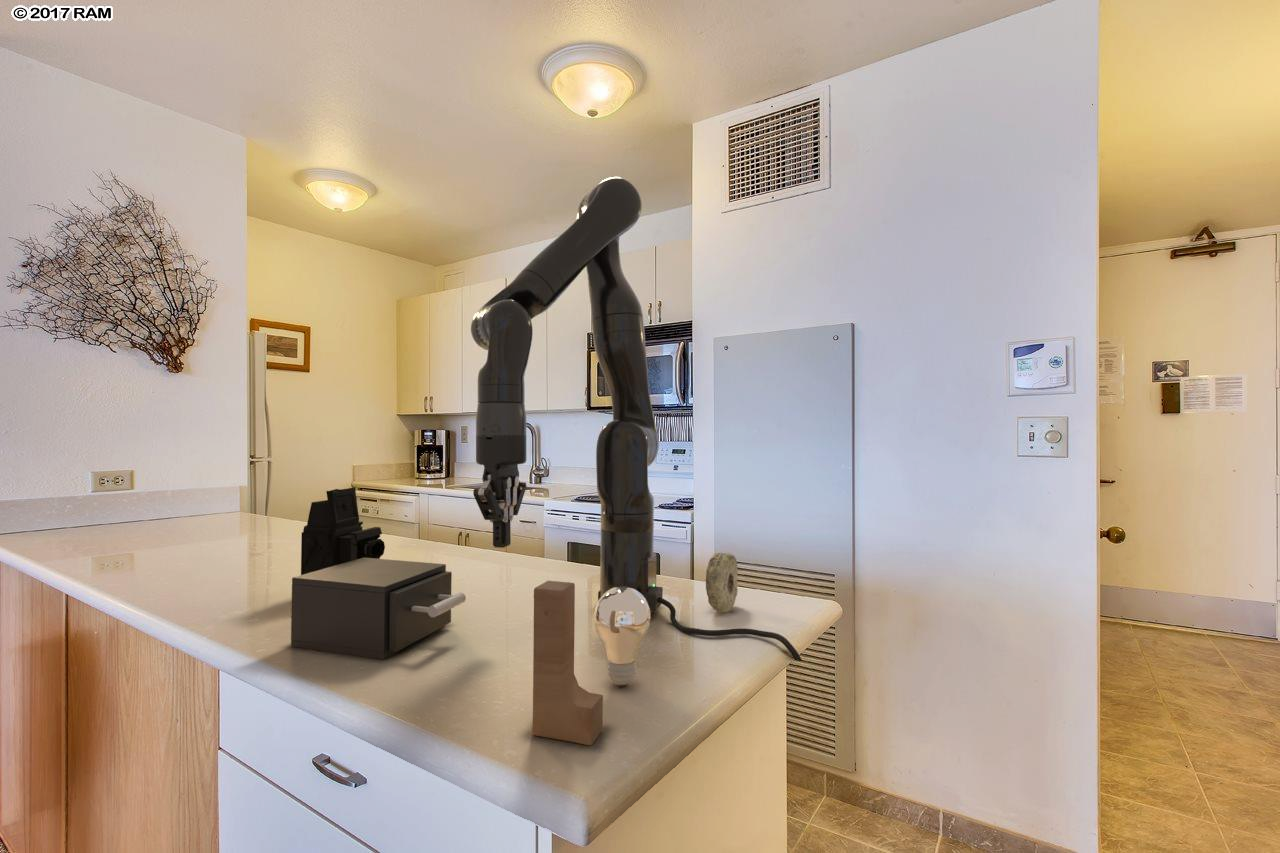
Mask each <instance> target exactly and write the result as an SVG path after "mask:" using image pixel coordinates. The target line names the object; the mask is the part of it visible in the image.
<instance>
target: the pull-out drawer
mask: <svg viewBox="0 0 1280 853" xmlns="http://www.w3.org/2000/svg"><path fill="white" fill-rule="evenodd" d="M452 573H453V572H452V571H447V570H446V571H445V572H442V573H440V574H437V575H434V574H433V575H431V576H428V577H425V578H423V579H420V580H418V581H415V582H412V583H410V584H407V585H404V586H402V587H399V588H397V589H398V590H396V591H393V592H390V593H389V630H388V643H389V651H393V652H396V653H398V652H399V651H398V650H400V649H402V648H404V647H405V648H407V647H409V646H411V645H412V644H411V643H413V642H415V641H416V642H418V641H420V640H422V639H423V638H422V637H424V636H426V635H428V634H429V635H431V634H433V633H435V632H436V631H435V630H437V629H439V628H440V629H442V628H444V627H445V626H447V625H449V624H450V623H452V609H454V608H457V607H458V606H460V605H461V604H464V603H466V599H467V597H466V594H465V593H464V592H460V591H459V592H458V593H455V594H454V595H452V582H453V581H452V580H453V578H452V576H453V574H452ZM443 626H444V627H443ZM441 627H442V628H441ZM440 629H439V630H440ZM434 631H435V632H434ZM437 631H438V630H437ZM432 632H433V633H432ZM430 633H431V634H430ZM429 635H428V636H429ZM426 637H427V636H426ZM421 638H422V639H421ZM424 638H425V637H424ZM419 639H420V640H419ZM417 640H418V641H417ZM416 642H415V643H416ZM410 644H411V645H410ZM413 644H414V643H413ZM408 645H409V646H408ZM406 646H407V647H406ZM405 648H404V649H405ZM402 650H403V649H402ZM397 651H398V652H397ZM400 651H401V650H400Z"/></svg>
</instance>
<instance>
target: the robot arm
mask: <svg viewBox="0 0 1280 853" xmlns="http://www.w3.org/2000/svg"><path fill="white" fill-rule="evenodd" d="M642 205H643V204H642V199H641V195H640V192H639V191H638V190H637V188H636V187H635V185H634V184H633V183H631V182H630V181H629V180H627V179H626V178H624V177H623V178H622V177H619V176H614V177H608V178H606V179H604V180H602V181H600V183H598V184H596V186H595V187H593V188H592V189H591V190H589V192H588V193H587V194H585V195H584V196H583V198H582V199H581V201H580V202H579V204H578V207H577V209H576V210H577V211H576V220H575V221H574V222H573V223H572V224H571V225H570V226H569V227H568V228H566V229H565V231H564V232H562V233H561V234H560V235H559V236H558V237H556V238H555V239H554V240H553V241H551V243H549V244H548V245H546V247H544V248H543V249H542V251H540V252H539V253H538V254H537V255H535V257H534V258H533V259H531V261H530V262H529V263H528V264H527V265H526V266H525V267H524V268H523V269H522V270H521V271H520V272H519V273H518V274H517V275H516V276H515V278H514V279H513V280H512V281H511V282H510V283H509V284H508V285H507V286H505V287H504V288H503V289H501V290H500V291H499V292H498V293H496V294H495V295H494V296H493V297H491V298H490V299H489V300H488V301H486V303H484V305H482V306H481V307H480V308H479V309H478V310H477V311H476V313H475V314H474V316H473V318H472V320H471V323H470V334H471V337H472V339H473V341H474V343H476V345H477V346H478V347H480V348H481V349H483V350H486V351H487V357H486V361H485V363H484V365H482V367H481V368H479V371H478V375H477V408H476V413H475V414H476V415H475V462H476V464H477V465H480V466H483V472H482V478H481V479H482V484H481V486H480V487H479V488H477V487H476V488H474V489H473V493H472V494H473V497H474V500H475V502H476V504H477V506H478V508H479V510H480V513H481V515H482V517H483V520H484V521H489V522H490V523H492V546H493V547H494V548H499V549H500V548H502V549H504V548H507V547H510V546H511V543H512V542H511V541H512V540H511V537H512V536H511V535H512V534H511V522H512V521H513V520H514V516H518V515H519V511H520V509H521V506H522V503H523V499H524V496H525V493H526V491H527V490H526V489H527V483H526V482H525V481H520V472H519V465H523V464H525V463H526V462H527V413H526V403H525V402H526V401H525V394H526V393H525V392H526V390H525V386H526V385H525V374H526V370H527V367H528V363H529V359H530V353H531V348H532V342H533V333H534V332H533V323H532V322H533V321H532V320H533V319H534V318H535V317H538V316H539V315H541V314H543V313H545V312H546V311H548V309H549V308H551V307H552V306H553V305H554V303H555V302H556V301H557V300H558V299H559V298H560V297H561V296H562V295H563V294H564V292H565V291H566V290H567V289H568V288H569V287H570V286H571V284H573V282H574V281H575V280H576V279H577V277H578V276H579V275H580V274H581V273H582V271H583V270H584V269H586V277H587V286H588V295H589V304H590V317H591V318H590V319H591V328H592V339H593V346H594V350H595V355H596V357H597V361H598V363H599V366H600V369H601V372H602V374H603V376H604V379H605V381H606V384H607V387H608V390H609V394H610V399H611V405H612V406H611V407H612V420H611V421H609V422H607V423H606V424H605V425H604V426H603V427H602V429H601V430H600V432H599V434H598V436H597V441H596V447H595V463H596V464H595V467H596V492H597V496H598V498H599V500H600V501H599V502H600V553H599V554H600V555H599V556H600V557H599V558H600V559H599V560H600V562H599V563H600V564H599V566H600V568H599V575H600V576H599V590H598V592H597V593H598V594H597V602H598V601H599V599H600V598H601V596H602V595H603V594H604V593H605V592H607V591H608V590H610V589H612V588H614V587H618V586H627V587H631V588H633V589H635V590H637V591H638V592H640V593H641V594H642V595H643V596H644V598H645V599H646V601H647V603H648V605H649V609H650V614H651V615H652V613H653V612H657V610H658V609H660V607H661V606H662V605H663V606H665V607H666V608H667V609H669V611H670V614H669V620H670V622H671V623H672V625H673V626H674V627H675V629H677V630H678V631H680V632H682V633H685V634H692V635H698V636H704V637H721V636H723V637H724V636H733V635H734V636H735V635H750V636H757V637H760V638H761V637H762V638H768V639H773V640H776V641H778V642H780V643H781V644H782V645H783V646H784V647H785V648H786V649H787V650H788V652H789V654H790V655H791V656H792V657H793V659H794V660H795V661H798V662H801V661H803V659H802V658H801V656H800V654H799V652H798V651H797V650H796V649H795V647H794V646H793V644H792V643H791V642H790V641H789V640H788V638H786V637H785V636H783V635H782V634H779V633H776V632H773V631H766V630H759V629H753V628H745V627H742V628H740V627H738V628H737V627H736V628H727V629H702V628H696V627H695V628H694V627H687V626H683V625H682V624H681V623H680V622H679V621H678V620H677V618H676V615H677V613H676V612H677V611H676V608H675V606H674V605H673V604H672V603H671V602H670V601H668V600H667V599H665V598H663V596H664V594H663V590H664V589H663V588H664V587H663V586H657V560H658V559H657V553H656V552H654V533H655V532H654V528H655V527H654V526H655V525H654V524H655V522H654V521H655V519H654V518H655V517H654V516H655V515H654V514H655V513H654V512H655V499H654V498H655V497H654V495H653V494H652V493H651V491H650V487H649V474H648V473H649V470H648V467H650V466H651V465H652V464H653V463H654V461H656V458H657V457H658V453H659V450H660V440H659V434H658V430H657V425H656V420H655V416H654V411H653V406H652V402H651V396H650V386H649V371H648V361H647V360H648V357H647V349H646V334H645V332H646V331H645V323H644V314H643V308H642V305H641V302H640V300H639V298H638V296H637V294H636V293H635V291H634V289H633V287H632V286H631V285H630V282H629V281H628V280H627V278H626V276H625V274H624V272H623V268H622V263H621V254H620V237H621V236H622V235H624V234H626V233H627V232H628V231H630V230H631V229H632V228H633V227H634V226H635V225H636V224H637V223H638V221H639V219H640V217H641V214H642V211H643V210H642V209H643V208H642V207H643V206H642Z"/></svg>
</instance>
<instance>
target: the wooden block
mask: <svg viewBox="0 0 1280 853" xmlns="http://www.w3.org/2000/svg"><path fill="white" fill-rule="evenodd" d="M575 602H576V584H575V583H574V582H568V581H558V580H546V581H545V582H542V583H541V584H539V585H537V586H535V587H534V589H533V651H532V652H533V655H532V656H533V658H532V659H533V660H532V661H533V663H532V664H533V665H532V678H533V679H532V731H531V732H532V736H537V737H542V738H549V739H554V740H560V741H565V742H571V743H577V744H580V745H586V746H592V745H593V744H594V742H595V741H596V740H597V739H598V737H599V735H600V734H601V733H602V732H603V728H604V723H603V722H604V695H603V694H600V693H594V692H589V691H587V690H586V689H584V688H583V687H581V686H580V685H579V682H578V680H577V678H576V675H575V619H576V618H575V616H576V614H575V612H576V611H575V610H576V609H575V606H576V605H575V604H576V603H575Z"/></svg>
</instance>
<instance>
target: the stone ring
mask: <svg viewBox="0 0 1280 853" xmlns="http://www.w3.org/2000/svg"><path fill="white" fill-rule="evenodd" d="M738 574H739V573H738V563H737V558H736V557H735V556H734V555H733V554H732V553H729V552H717V553H715V554H713V555H712V557H710V559H709V561H708V563H707V567H706V572H705V589H706V590H705V591H706V595H707V599H708V600H707V602H708V604H709V605H710V607H711V608H712V609H713V610H714V611H717V612H721V613H728V612H731V611H732V608H733V607H734V605H735V603H736V598H737V596H738V592H739V590H738Z"/></svg>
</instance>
